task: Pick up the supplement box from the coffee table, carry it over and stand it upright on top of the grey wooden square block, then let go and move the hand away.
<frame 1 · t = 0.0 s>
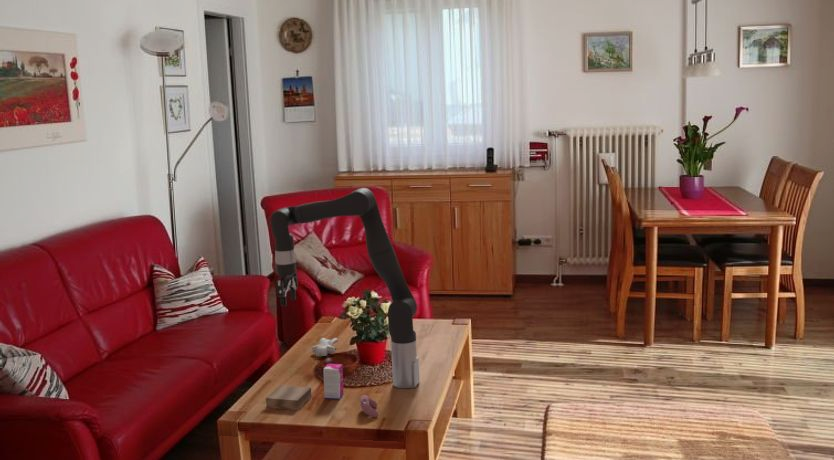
hand: (288, 303, 319), 29 cm above the table, tool pointing down, fingers open, 8 cm apart
pink rounded lump: (369, 413, 289), on the table
supplement box: (334, 397, 304), on the table
grey wooden square block: (289, 403, 300), on the table
bunny figurine: (325, 352, 351), on the table
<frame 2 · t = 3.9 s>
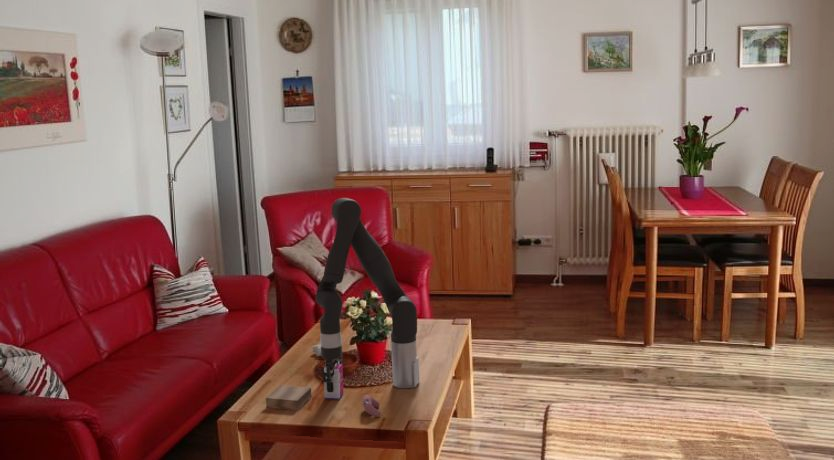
hand: (333, 388, 303), 3 cm above the table, tool pointing down, fingers closed on supplement box, 6 cm apart
supplement box: (334, 397, 304), on the table, touching gripper
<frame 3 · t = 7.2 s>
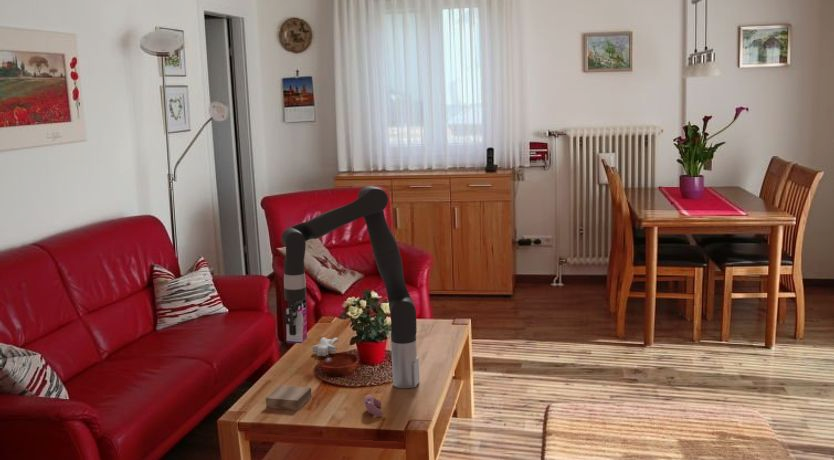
hand: (296, 331, 296), 26 cm above the table, tool pointing down, fingers closed on supplement box, 6 cm apart
supplement box: (297, 341, 297), point 22 cm above the table, touching gripper
when the fingers open (8 cm above the table, at t = 10.4 s): supplement box drops 2 cm, resting on grey wooden square block.
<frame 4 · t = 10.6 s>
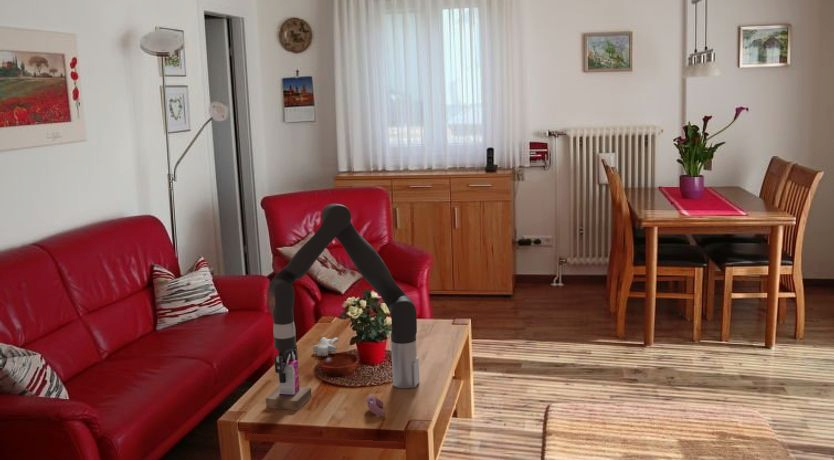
hand: (287, 378, 298), 9 cm above the table, tool pointing down, fingers open, 7 cm apart
supplement box: (289, 393, 299), point 3 cm above the table, touching grey wooden square block
grey wooden square block: (289, 403, 300), on the table, touching supplement box
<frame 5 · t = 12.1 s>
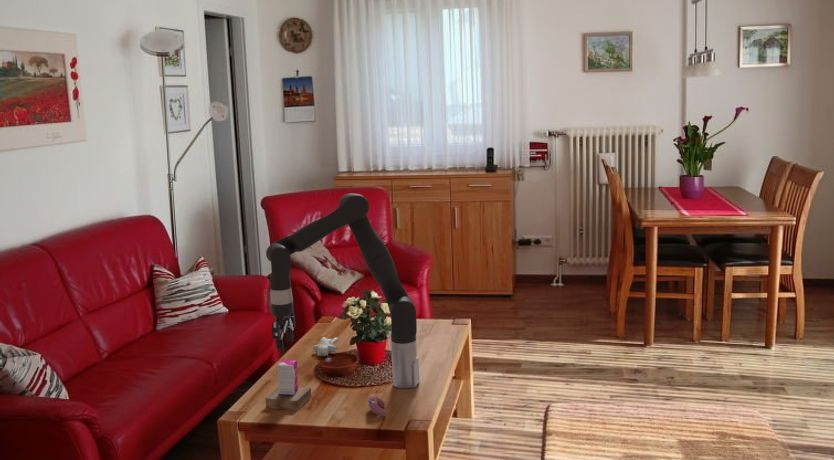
hand: (285, 345, 296), 21 cm above the table, tool pointing down, fingers open, 8 cm apart
supplement box: (288, 393, 299), point 3 cm above the table
grey wooden square block: (289, 403, 300), on the table
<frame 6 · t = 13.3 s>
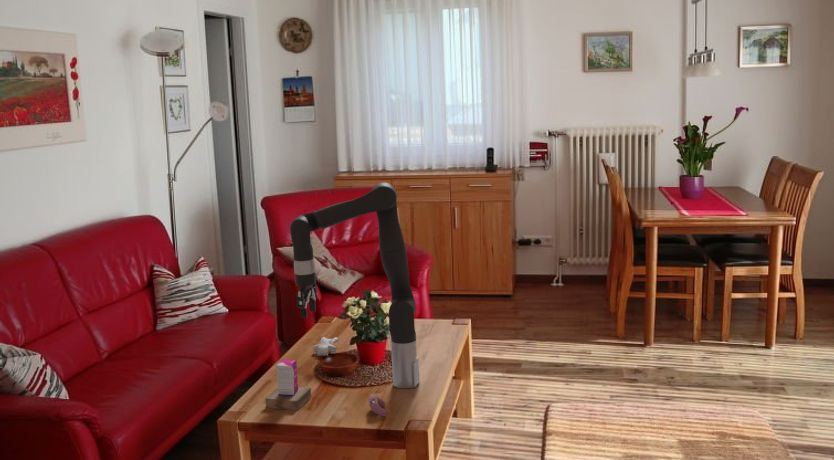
hand: (308, 314, 307), 28 cm above the table, tool pointing down, fingers open, 8 cm apart
supplement box: (288, 393, 299), point 3 cm above the table, touching grey wooden square block
grey wooden square block: (289, 403, 300), on the table, touching supplement box
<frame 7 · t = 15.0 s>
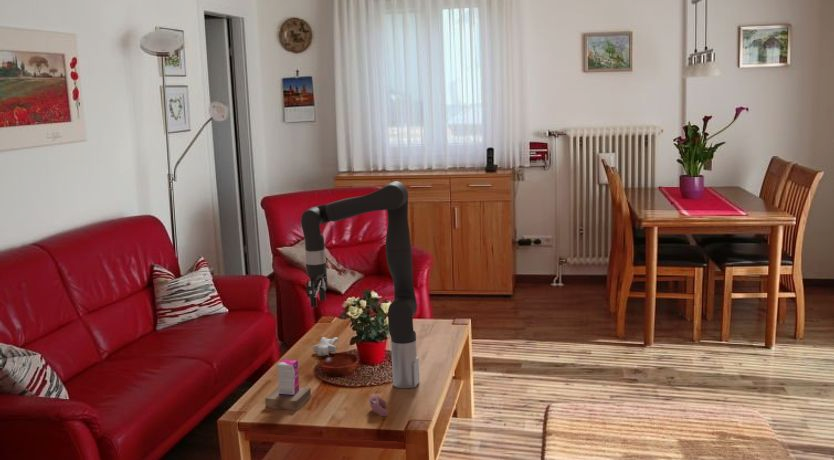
hand: (318, 303, 314), 30 cm above the table, tool pointing down, fingers open, 8 cm apart
at the end: supplement box inside the target area on the grey wooden square block (0.5 cm from its centre), point 3.9 cm above the grey wooden square block's base; supplement box tilted 1°; the gripper is holding nothing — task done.
